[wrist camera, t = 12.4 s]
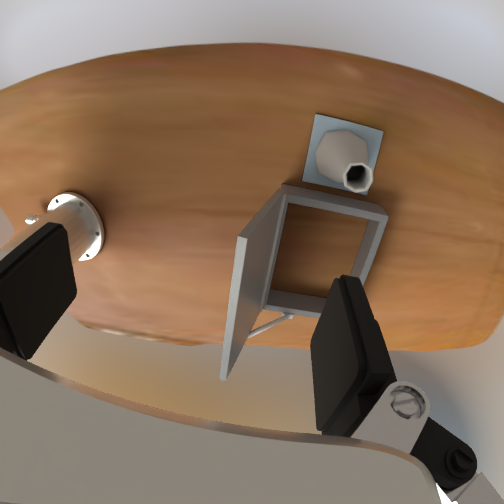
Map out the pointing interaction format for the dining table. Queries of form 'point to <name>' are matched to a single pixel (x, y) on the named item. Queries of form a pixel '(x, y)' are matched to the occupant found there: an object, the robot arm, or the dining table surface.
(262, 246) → the lid and stay
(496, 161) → the dining table surface
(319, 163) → the flask
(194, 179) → the dining table surface
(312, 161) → the mat
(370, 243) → the case
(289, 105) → the dining table surface
